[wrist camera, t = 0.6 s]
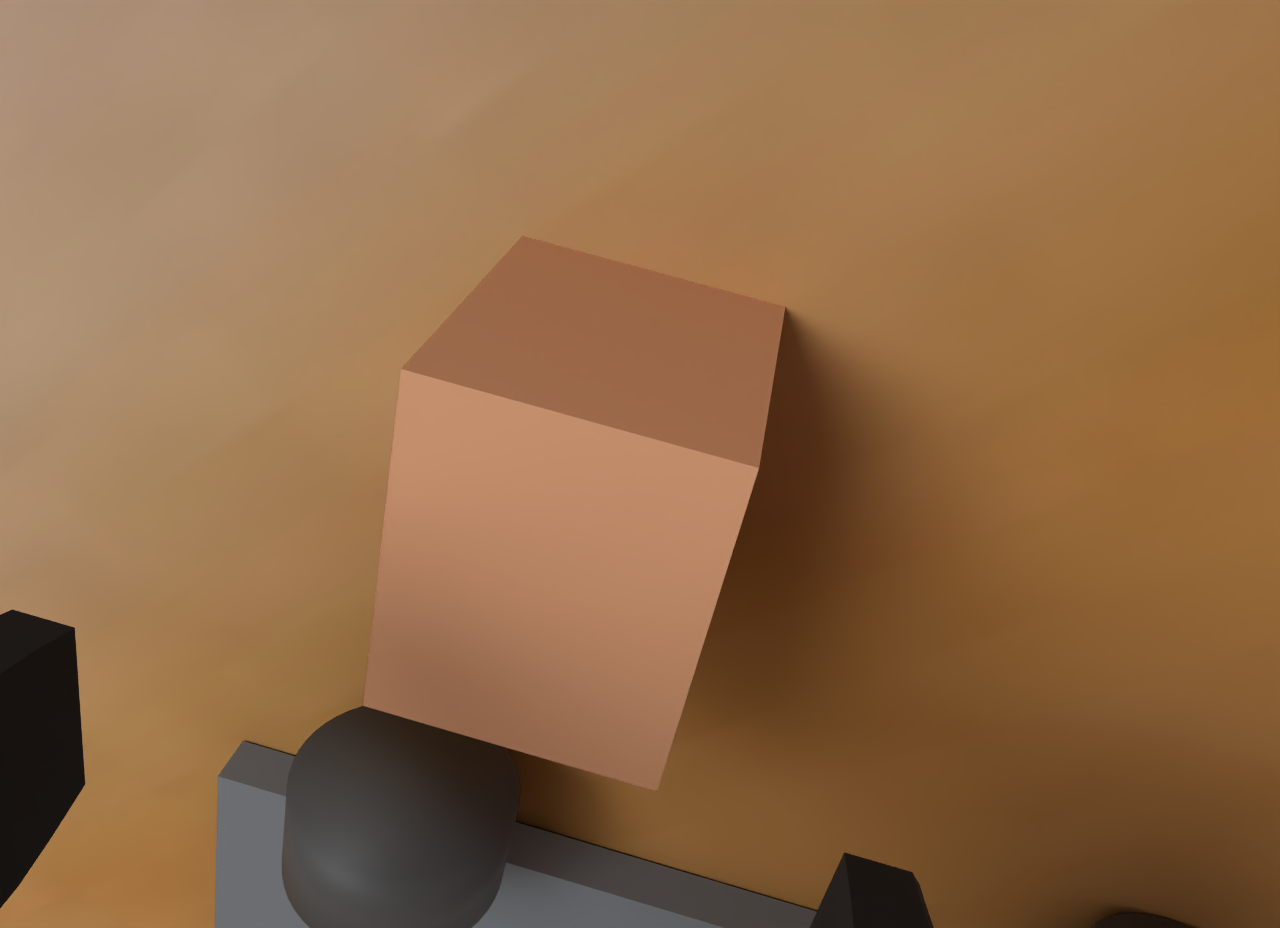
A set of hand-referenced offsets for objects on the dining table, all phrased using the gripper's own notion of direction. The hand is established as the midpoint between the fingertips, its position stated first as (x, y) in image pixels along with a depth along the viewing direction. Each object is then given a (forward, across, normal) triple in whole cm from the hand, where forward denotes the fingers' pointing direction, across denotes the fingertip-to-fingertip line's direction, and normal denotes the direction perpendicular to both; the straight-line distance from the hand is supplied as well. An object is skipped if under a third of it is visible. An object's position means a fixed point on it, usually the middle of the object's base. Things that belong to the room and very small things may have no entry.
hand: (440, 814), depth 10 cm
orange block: (+8, 0, 0) cm, 8 cm away
